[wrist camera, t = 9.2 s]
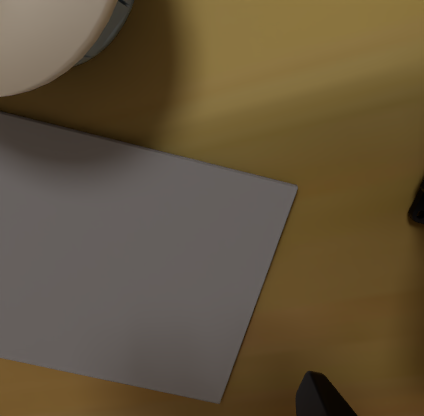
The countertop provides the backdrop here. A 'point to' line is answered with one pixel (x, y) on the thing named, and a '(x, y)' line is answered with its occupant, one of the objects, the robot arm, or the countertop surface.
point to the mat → (129, 258)
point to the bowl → (109, 29)
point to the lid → (46, 39)
